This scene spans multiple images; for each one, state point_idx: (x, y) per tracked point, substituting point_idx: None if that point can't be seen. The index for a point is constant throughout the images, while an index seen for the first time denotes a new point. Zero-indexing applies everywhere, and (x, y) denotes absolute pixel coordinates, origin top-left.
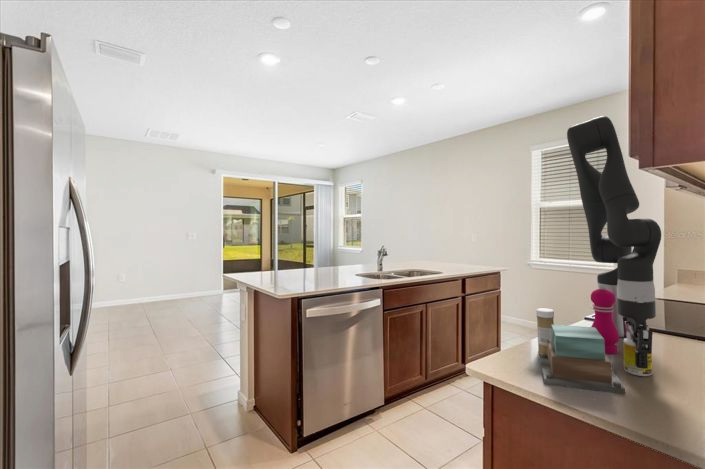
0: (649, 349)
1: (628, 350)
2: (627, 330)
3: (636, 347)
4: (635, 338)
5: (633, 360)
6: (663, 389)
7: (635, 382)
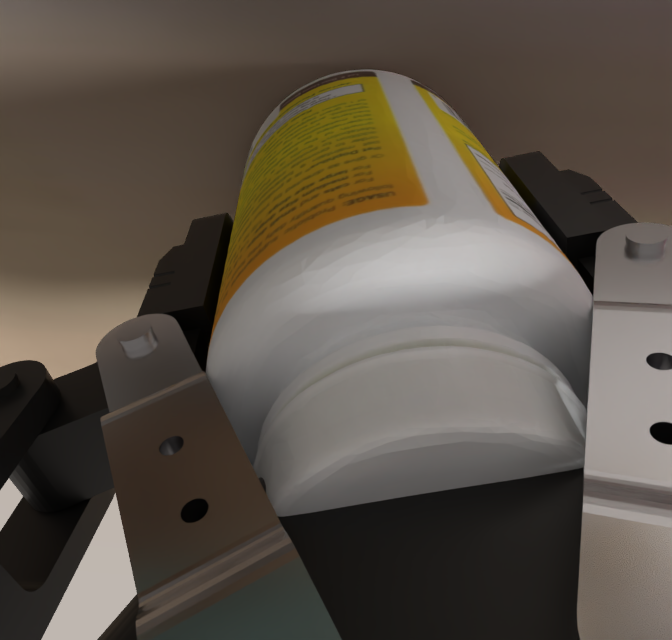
0: (7, 525)
1: (253, 225)
2: (585, 443)
3: (104, 383)
4: (258, 472)
5: (236, 217)
6: (68, 322)
7: (67, 149)
